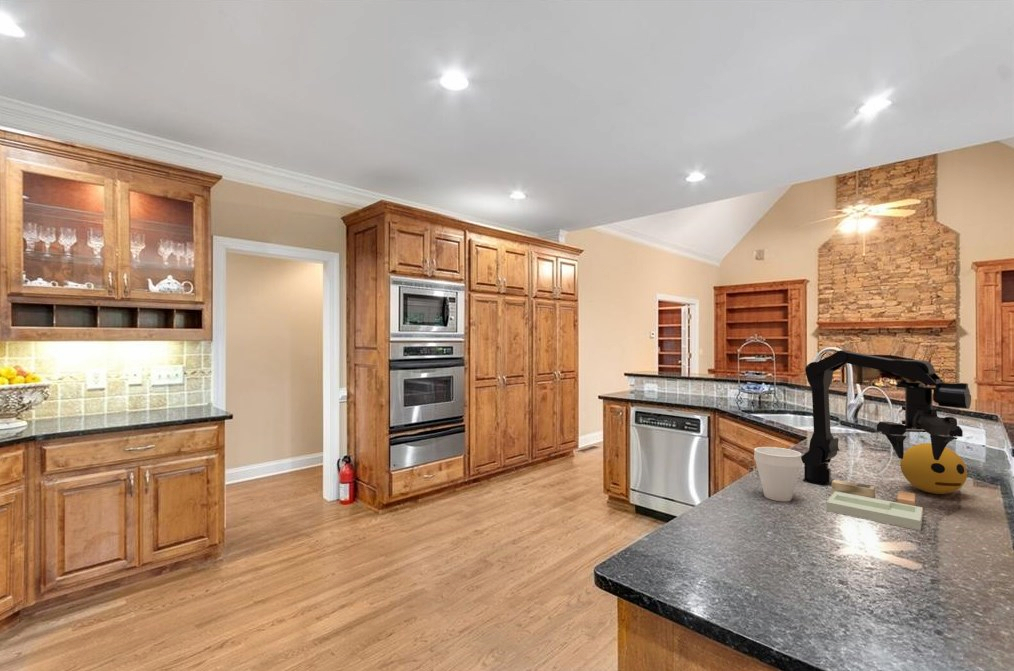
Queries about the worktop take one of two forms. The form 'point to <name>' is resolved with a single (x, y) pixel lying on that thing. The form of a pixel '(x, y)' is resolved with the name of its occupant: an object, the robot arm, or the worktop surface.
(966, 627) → the worktop surface
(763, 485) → the cup
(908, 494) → the orange rectangular block
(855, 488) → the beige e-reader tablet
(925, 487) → the toy
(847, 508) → the jig
